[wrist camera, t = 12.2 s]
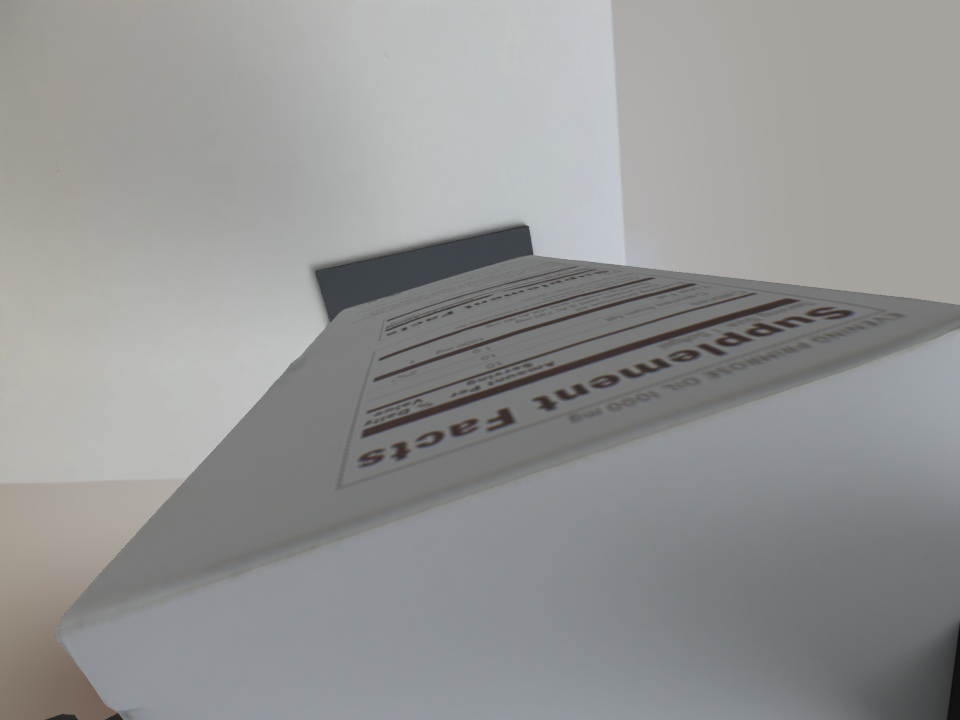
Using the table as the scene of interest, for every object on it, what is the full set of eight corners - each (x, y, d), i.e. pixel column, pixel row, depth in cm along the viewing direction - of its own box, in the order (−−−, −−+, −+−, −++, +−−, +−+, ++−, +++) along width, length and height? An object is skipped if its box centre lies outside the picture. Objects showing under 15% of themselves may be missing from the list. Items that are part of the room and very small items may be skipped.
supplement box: (577, 431, 23) (979, 888, 7) (404, 489, 22) (401, 1149, 6) (534, 246, 20) (1056, 287, 4) (333, 306, 19) (-15, 648, 3)
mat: (527, 225, 38) (528, 225, 38) (548, 357, 42) (550, 358, 41) (316, 270, 36) (314, 271, 36) (357, 403, 40) (356, 406, 39)
